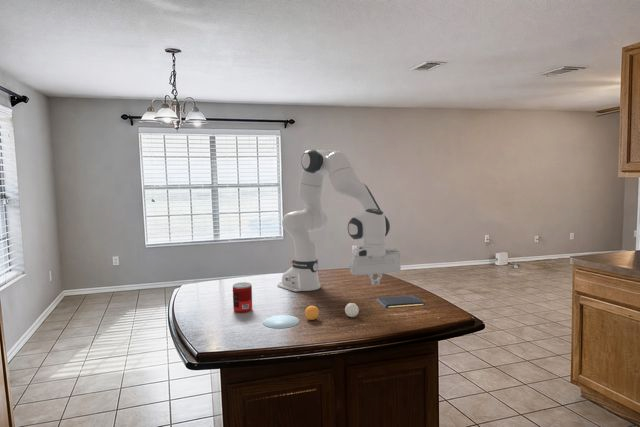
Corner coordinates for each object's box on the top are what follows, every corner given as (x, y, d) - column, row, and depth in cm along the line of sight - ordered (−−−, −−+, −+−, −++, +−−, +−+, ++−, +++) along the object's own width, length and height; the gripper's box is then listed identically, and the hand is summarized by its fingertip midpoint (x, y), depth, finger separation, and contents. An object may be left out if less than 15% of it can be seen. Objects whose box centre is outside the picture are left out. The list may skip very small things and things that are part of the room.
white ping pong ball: (342, 317, 167) (342, 303, 167) (349, 313, 172) (349, 300, 171) (354, 320, 164) (354, 306, 163) (361, 316, 168) (361, 302, 168)
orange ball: (302, 320, 164) (302, 306, 164) (310, 316, 169) (310, 302, 168) (313, 322, 161) (313, 308, 161) (321, 318, 166) (321, 305, 165)
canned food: (255, 308, 181) (254, 282, 180) (246, 314, 173) (245, 287, 172) (239, 306, 183) (238, 281, 182) (230, 312, 176) (229, 286, 175)
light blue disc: (255, 323, 162) (255, 323, 161) (279, 313, 173) (279, 313, 173) (283, 331, 153) (283, 330, 153) (306, 319, 165) (306, 319, 165)
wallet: (416, 293, 195) (429, 303, 180) (416, 297, 195) (429, 307, 180) (374, 296, 192) (384, 306, 177) (374, 300, 192) (384, 310, 177)
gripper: (397, 247, 172) (397, 280, 173) (348, 250, 168) (349, 284, 169) (402, 250, 165) (403, 284, 167) (352, 252, 162) (352, 288, 163)
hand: (375, 284), depth 168 cm, fingers closed
